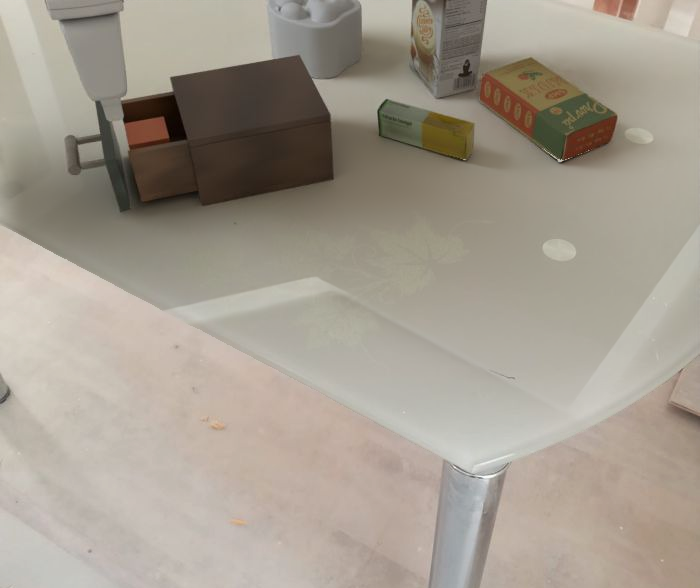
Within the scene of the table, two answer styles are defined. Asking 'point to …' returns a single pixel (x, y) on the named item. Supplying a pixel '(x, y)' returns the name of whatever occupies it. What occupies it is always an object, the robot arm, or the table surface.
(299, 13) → the lumpy-topped squat cylinder
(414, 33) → the coffee box
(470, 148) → the medication box
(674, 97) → the table surface
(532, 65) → the carton
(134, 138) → the block
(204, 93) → the cabinet
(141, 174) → the drawer
